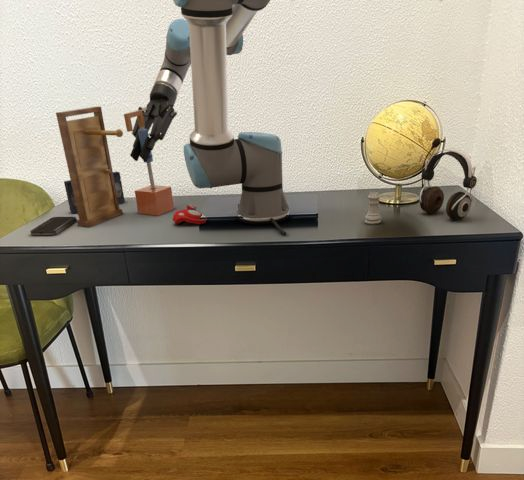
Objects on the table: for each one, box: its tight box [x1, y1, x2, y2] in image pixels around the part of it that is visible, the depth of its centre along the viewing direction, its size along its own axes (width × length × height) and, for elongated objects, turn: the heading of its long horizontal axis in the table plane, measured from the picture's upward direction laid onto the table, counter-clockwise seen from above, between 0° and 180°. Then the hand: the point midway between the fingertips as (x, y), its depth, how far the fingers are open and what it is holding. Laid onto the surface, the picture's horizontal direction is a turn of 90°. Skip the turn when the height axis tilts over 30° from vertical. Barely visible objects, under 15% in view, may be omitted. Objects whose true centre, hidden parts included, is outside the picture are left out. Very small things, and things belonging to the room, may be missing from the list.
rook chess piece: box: [364, 191, 382, 226], centre depth 145 cm, size 4×4×8 cm
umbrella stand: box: [134, 184, 175, 216], centre depth 167 cm, size 8×8×7 cm
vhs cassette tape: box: [63, 171, 126, 214], centre depth 174 cm, size 18×3×10 cm, turn 128°
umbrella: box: [123, 109, 156, 189], centre depth 158 cm, size 8×3×22 cm, turn 151°
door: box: [55, 106, 124, 228], centre depth 153 cm, size 15×16×31 cm
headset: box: [419, 137, 478, 221], centre depth 144 cm, size 17×8×20 cm, turn 34°
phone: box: [30, 216, 77, 236], centre depth 157 cm, size 8×1×15 cm
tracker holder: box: [172, 203, 208, 225], centre depth 156 cm, size 12×4×10 cm
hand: (138, 158), depth 157 cm, fingers closed on umbrella, 3 cm apart
